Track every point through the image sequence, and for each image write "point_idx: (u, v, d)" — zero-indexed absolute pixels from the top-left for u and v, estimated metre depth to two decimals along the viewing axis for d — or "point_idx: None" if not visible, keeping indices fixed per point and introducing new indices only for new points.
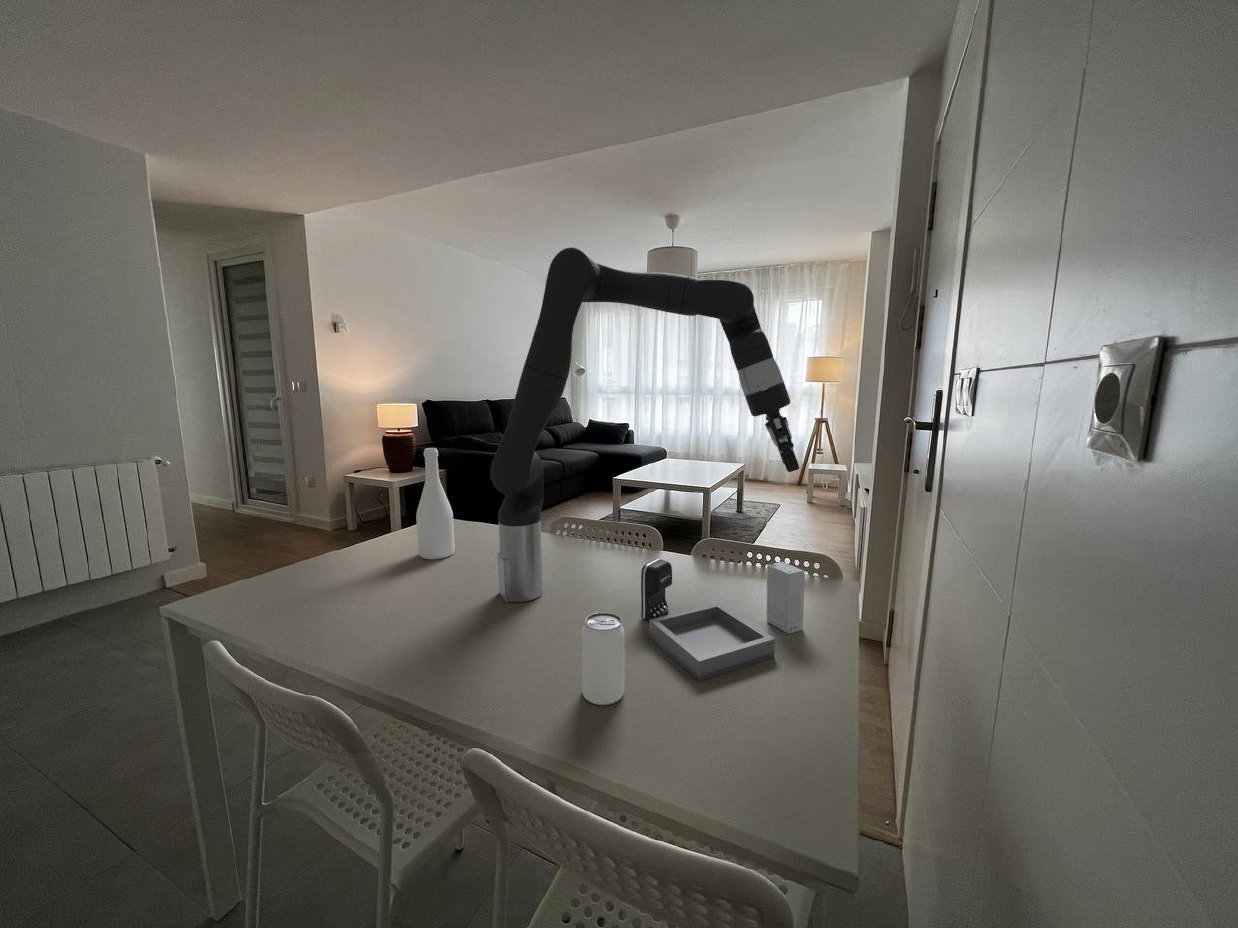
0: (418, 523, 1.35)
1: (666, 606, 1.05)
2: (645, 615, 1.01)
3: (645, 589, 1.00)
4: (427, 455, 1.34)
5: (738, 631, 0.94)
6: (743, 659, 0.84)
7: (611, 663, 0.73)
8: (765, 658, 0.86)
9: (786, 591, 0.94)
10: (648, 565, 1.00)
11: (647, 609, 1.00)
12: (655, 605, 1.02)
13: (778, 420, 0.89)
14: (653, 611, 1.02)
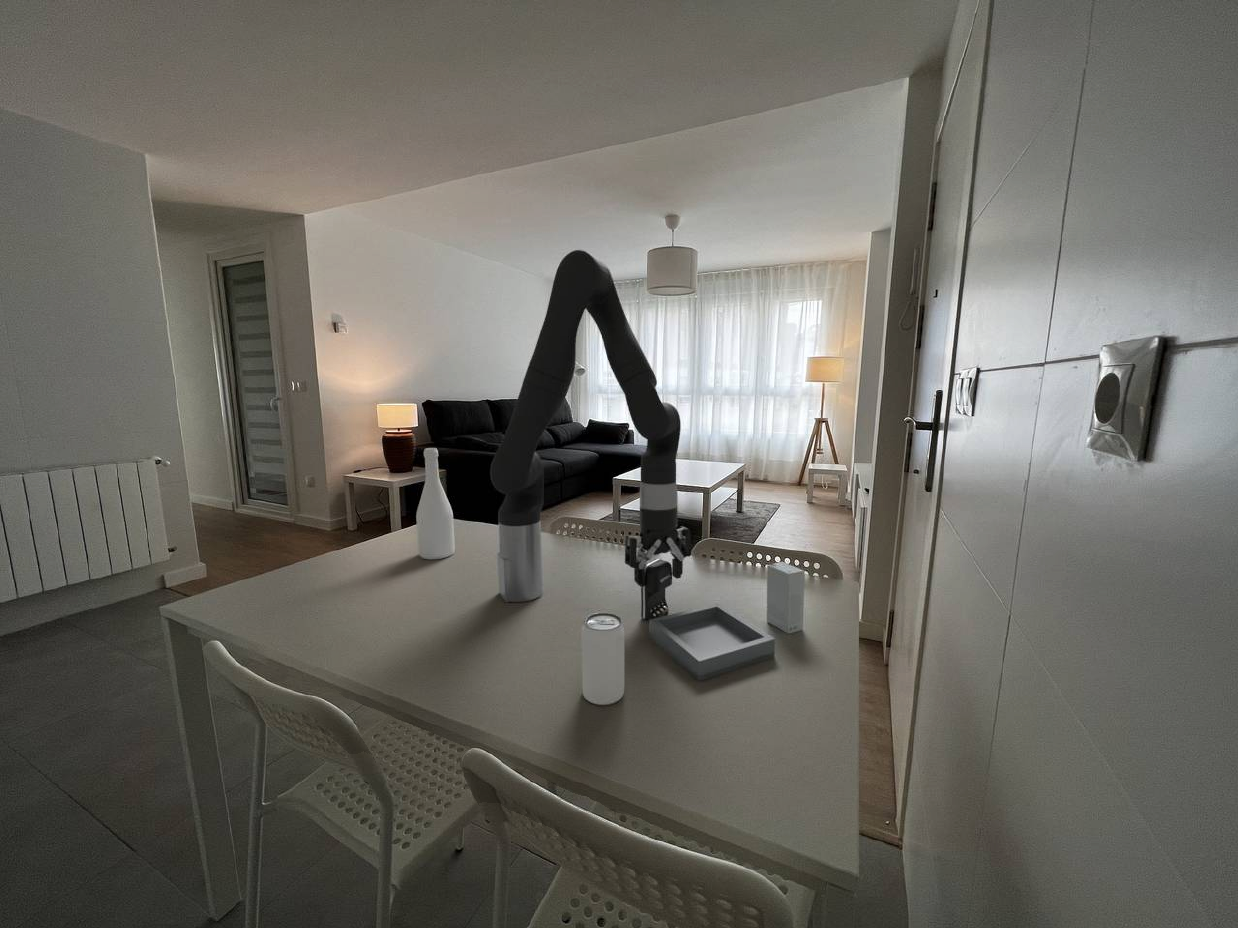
0: (418, 523, 1.35)
1: (666, 606, 1.05)
2: (645, 615, 1.01)
3: (645, 589, 1.00)
4: (427, 455, 1.34)
5: (738, 631, 0.94)
6: (743, 659, 0.84)
7: (611, 663, 0.73)
8: (765, 658, 0.86)
9: (786, 591, 0.94)
10: (648, 565, 1.00)
11: (647, 609, 1.00)
12: (655, 605, 1.02)
13: (629, 540, 0.97)
14: (653, 611, 1.02)
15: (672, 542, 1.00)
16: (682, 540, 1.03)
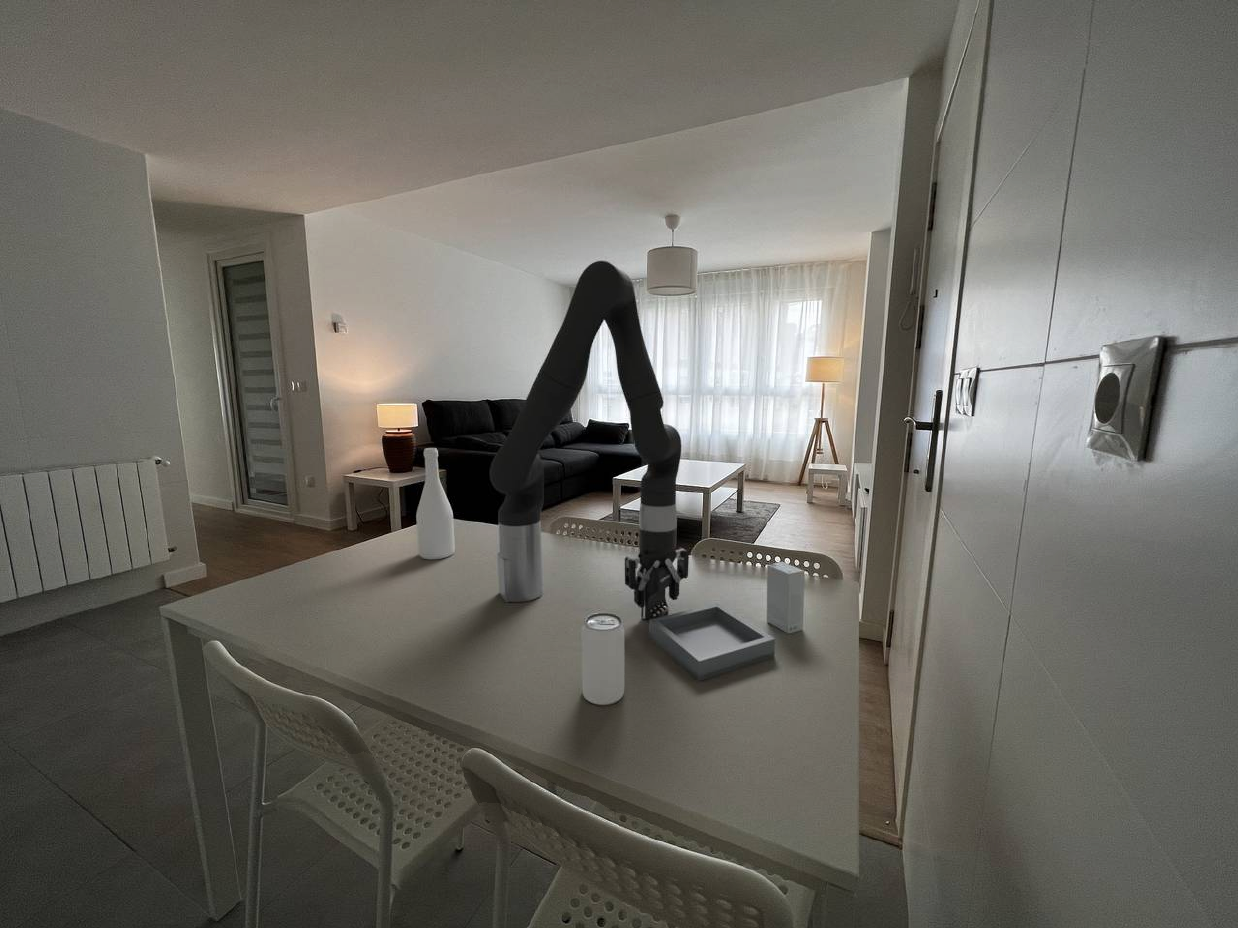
0: (418, 523, 1.35)
1: (666, 606, 1.05)
2: (645, 615, 1.01)
3: (645, 589, 1.00)
4: (427, 455, 1.34)
5: (738, 631, 0.94)
6: (743, 659, 0.84)
7: (611, 663, 0.73)
8: (765, 658, 0.86)
9: (786, 591, 0.94)
10: None
11: (647, 609, 1.00)
12: (655, 605, 1.02)
13: (628, 562, 0.98)
14: (653, 611, 1.02)
15: (670, 563, 1.01)
16: (680, 561, 1.04)
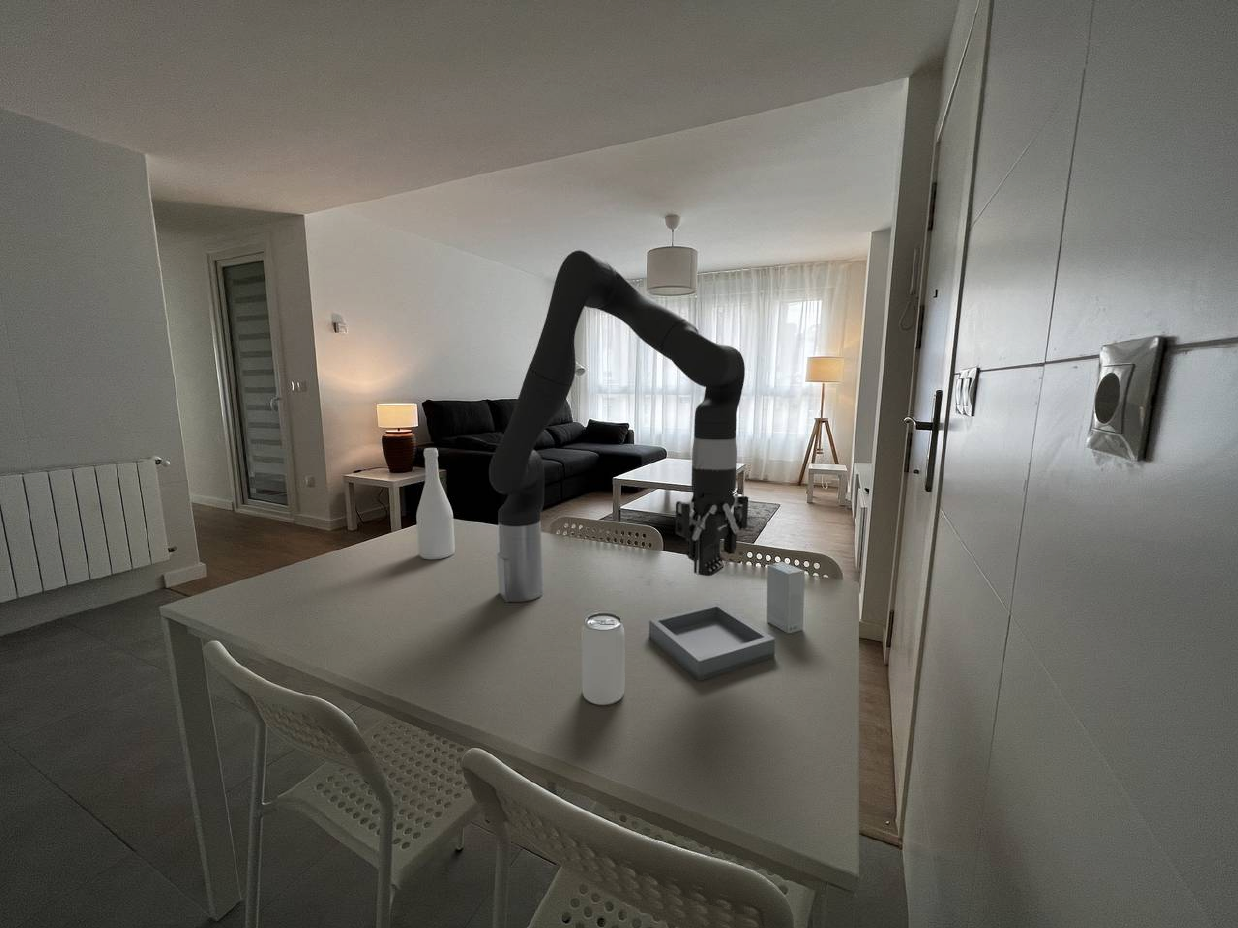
0: (418, 523, 1.35)
1: (721, 561, 0.90)
2: (699, 570, 0.86)
3: (699, 539, 0.85)
4: (427, 455, 1.34)
5: (738, 631, 0.94)
6: (743, 659, 0.84)
7: (611, 663, 0.73)
8: (765, 658, 0.86)
9: (786, 591, 0.94)
10: None
11: (702, 563, 0.86)
12: (710, 559, 0.88)
13: (680, 506, 0.83)
14: (708, 566, 0.87)
15: (728, 509, 0.86)
16: (737, 509, 0.89)
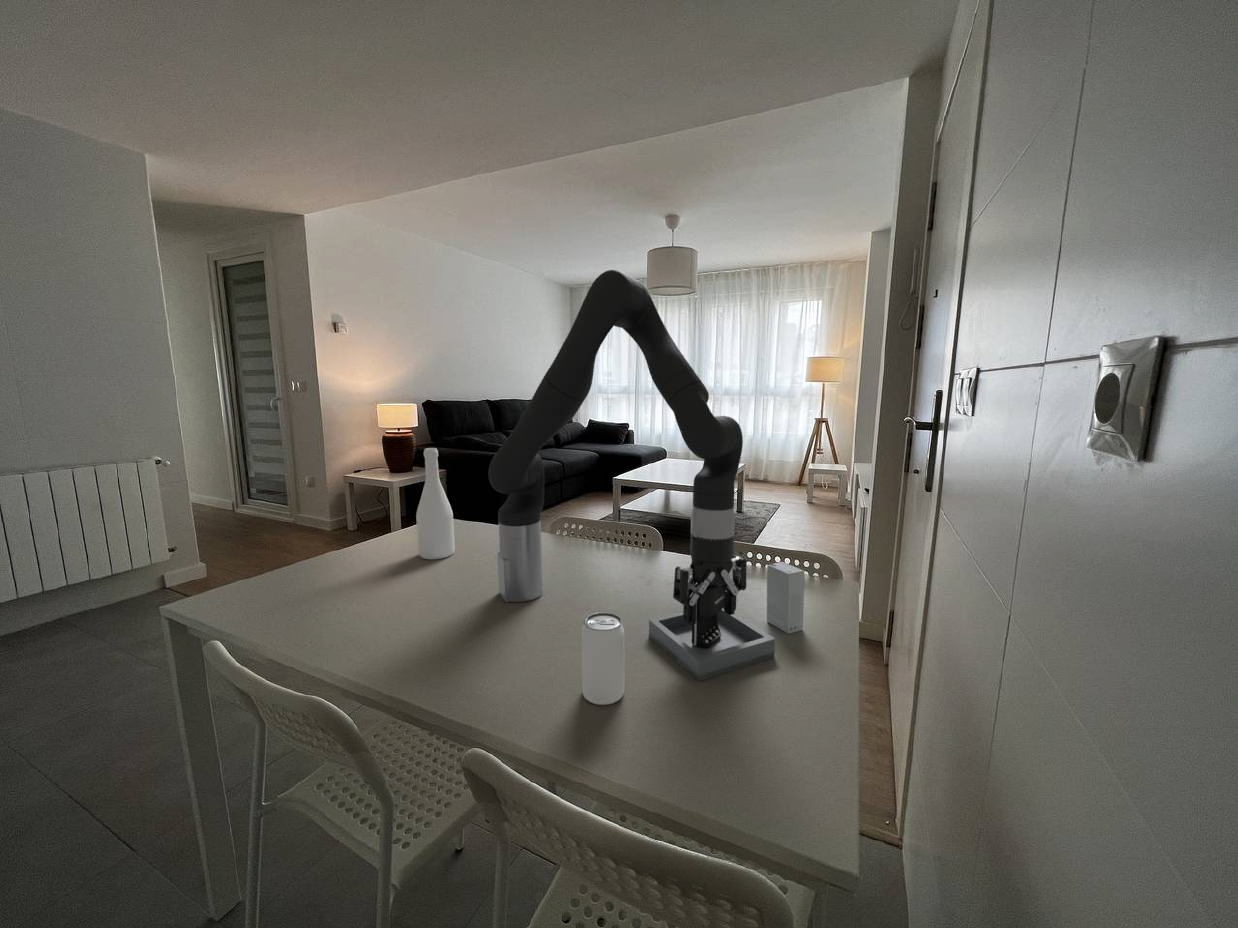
0: (418, 523, 1.35)
1: (718, 630, 0.92)
2: (696, 642, 0.88)
3: (697, 612, 0.87)
4: (427, 455, 1.34)
5: (738, 631, 0.94)
6: (743, 659, 0.84)
7: (611, 663, 0.73)
8: (765, 658, 0.86)
9: (786, 591, 0.94)
10: None
11: (699, 635, 0.88)
12: (707, 630, 0.90)
13: (679, 572, 0.85)
14: (705, 637, 0.89)
15: (727, 575, 0.88)
16: (736, 571, 0.91)
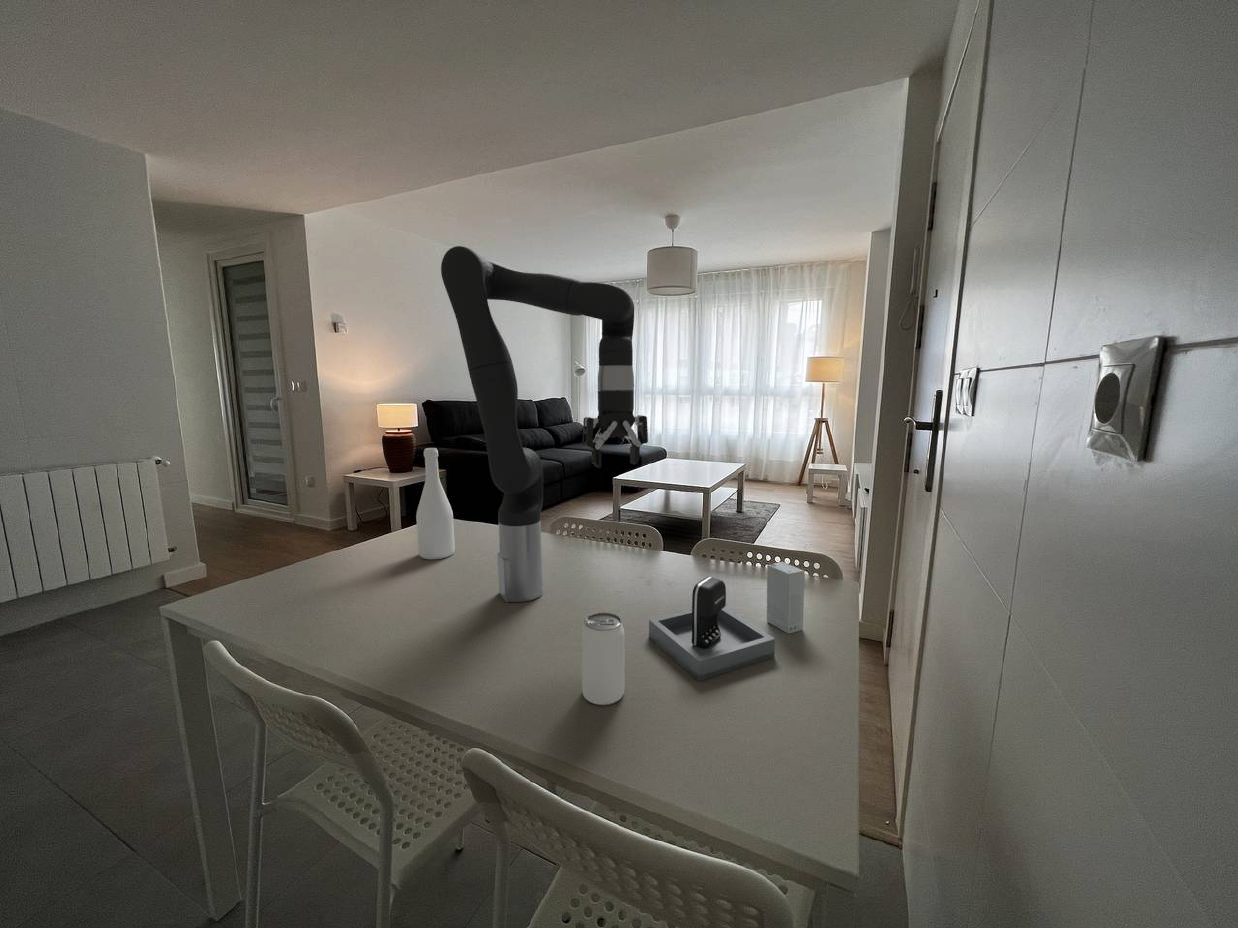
0: (418, 523, 1.35)
1: (718, 630, 0.92)
2: (696, 642, 0.88)
3: (697, 612, 0.87)
4: (427, 455, 1.34)
5: (738, 631, 0.94)
6: (743, 659, 0.84)
7: (611, 663, 0.73)
8: (765, 658, 0.86)
9: (786, 591, 0.94)
10: (700, 585, 0.88)
11: (699, 635, 0.88)
12: (707, 630, 0.90)
13: (586, 420, 1.02)
14: (705, 637, 0.89)
15: (628, 426, 1.04)
16: (639, 428, 1.08)
